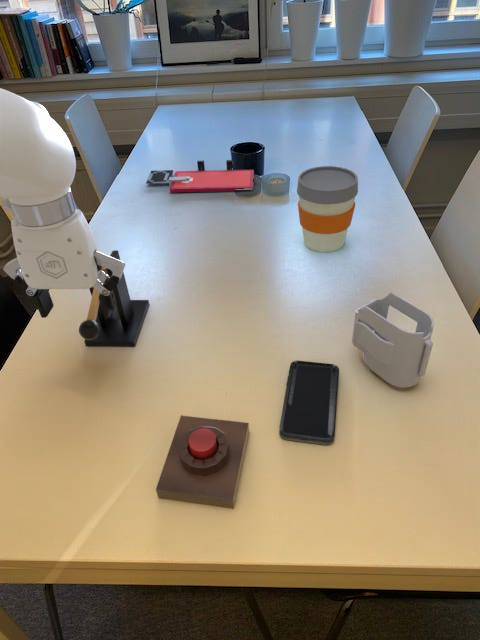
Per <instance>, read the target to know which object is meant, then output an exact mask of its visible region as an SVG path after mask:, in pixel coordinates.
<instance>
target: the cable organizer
mask: <svg viewBox="0 0 480 640" xmlns="http://www.w3.org/2000/svg"><path fill="white" fill-rule="evenodd" d="M389 307H392V308H394V309H395V310H396V311H398V312H399V313H401V314H403V315H405V316H406V317H408V318H410V319H411V320H413V321H415V322H416V328H415V332H413V331H408V330H406V329H403V328H401V327H400V326H398V325H397V324H395V323H393V322H391V321H390V320H389V319H388V314H389ZM434 327H435V320H434V318H433V317H432V315H431V314H430V313H429V312H426V311H425V310H424V309H422V308H420V307H418V306H416V305H415V304H413V303H412V302H409V301H408V300H407V299H405V298H403V297H401V296H399V295H398V294H397V293H395V292H393V291H391V292H390V293H388V294H387V295H386V296H384V297H383V298H374V299H372V300H371V301H369V302H367V303H365V304H364V305H362V306H359V307H358V308H356V309H355V312H354V320H353V328H352V337H351V343H352V345H353V346H354V348H356V349H358V350H359V351H360V352H362V353H363V354H362V360H363V362H364V364H365V365H366V366H367V368H368V369H369V370H371V372H373V373H374V374H376V375H377V376H378V377H379V378H381V379H382V380H384V381H385V382H386V383H388V384H389V385H390V386H393V387H396V388H410V387H413V386H415V385H417V384H418V383H419V382H420V380H421V378H422V377H423V376H425V375H426V372H427V368H428V365H429V360H430V357H431V354H432V353H431V352H432V350H433V346H434V344H433V343H434V342H433V341H432V339H431V338H432V334H433V331H434Z"/></svg>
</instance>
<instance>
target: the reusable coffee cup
mask: <svg viewBox="0 0 480 640" xmlns="http://www.w3.org/2000/svg"><path fill="white" fill-rule="evenodd" d="M358 178H359V177H358V175H357V174H356V173H355V172H354V171H353V170H352V169H351V170H350V169H348V168H347V167H346V168H345V167H341V166H335V165H323V166H314V167H312V168H311V167H310V168H307V169H305V170H304V171H302V172H301V173H300V174H299V175H298V179H297V186H296V192H297V195H298V201H297V209H298V219H299V224H300V226H301V229H302V238H303V245H305V247H306V248H307V249H310V250H311V251H314V252H317V253H331V252H332V253H333V252H336V251H338V250H340V249H342V248H343V246H344V245H345V241H346V238H347V234H348V229H349V227H350V226H351V224H352V220H353V217H354V212H355V209H356V201H355V199H356V196H358V193H359V179H358Z"/></svg>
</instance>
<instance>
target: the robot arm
mask: <svg viewBox="0 0 480 640" xmlns="http://www.w3.org/2000/svg"><path fill="white" fill-rule="evenodd" d="M76 170H77V161H76V155H75V152H74V148H73V145H72V143H71V141H70V139H69V137H68V135H67V134H66V132H65V131H64V130H63V129H62V127H61V126H60V125H59V124H58V123H57V121H55V119H53V118H52V117H51V116H50V113H49V112H48V110H47V108H46V107H45V106H43V105H42V104H40V103H39V102H36V101H31V100H29V99H27V98H25V97H23V96H22V95H21V96H20V95H19V94H16V93H14V92H11V91H9V90H7V89H4V88H1V87H0V199H2V200H1V205H2V208H3V210H10V211H11V212H12V215H13V217H14V218H13V219H12V220H11V222H10V226H11V234H12V240H13V241H12V242H13V246H14V250H15V254H16V257H14V258H13V259H12V260H10V261H8V262H7V263H6V264H5V265H4V266H3V271H4V272H5V273H6V274H7V275H8V276H9V277H10V279H13V283H15V284H16V285H17V286H19V287H20V288H22V289H23V290H25V293H26V294H27V296H29V297H32V300H33V303H34V305H35V307H36V309H37V310H38V312H39V315H40V317H41V318H43V319H44V318H47V317H48V316H49V315H50V313H51V311H52V309H53V308H54V302H53V299H52V296H51V293H50V290H86V289H87V290H88V289H89V288H91V287H93V288H95V289H96V290H97V291H99V292H100V295H99V300H100V304H101V307H102V311H103V314H104V317H105V318H110V316H111V314H112V312H113V310H115V308H116V299H115V295H114V292H113V289H114V288H115V286H116V285H117V284H118V283H119V281H120V279H121V276H122V273H123V272H124V270H125V268H126V263H125V261H122V260H121V259H120V260H121V261H120V260H117V259H115V258H112V257H110V255H108V254H105V253H103V252H100V249H99V247H98V244H97V241H96V239H95V236H94V234H93V232H92V229H91V227H90V224H89V223H88V221H87V219H86V217H85V215H84V213H83V212H82V210H81V209H79V208H77V207H76V203H75V199H74V197H73V192H72V189H71V185H72V184H73V182H74V180H75V177H76V176H75V175H76ZM103 267H105V268H107V269H110V270H111V271H112V275H111V276H110V277H109V276H108V275H107V274H106V273H104V272H103V271H102V270H103ZM97 278H98V279H99V280H100V281H102V282H103V283H104V284H103V283H102V282H100V281H99V280H98V279H97Z"/></svg>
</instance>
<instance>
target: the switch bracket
mask: <svg viewBox="0 0 480 640" xmlns="http://www.w3.org/2000/svg"><path fill="white" fill-rule="evenodd" d="M109 256H110V257H112V258H115V259H117V260H120V261H122V260H121V257H120V253H119V250H112V251H111V253H110V255H109ZM106 269H107V268H106ZM107 272H108V276H109V277H110V276H111V275H112V271H111V270H110V269H107ZM126 280H127V279H126V277H125V272H124V271H123V273H122V276H121V279H120V281H119V283H118V284H117V285H116V286H115V288H114V289H113V292H114V295H115V299H116V308H115V310H113V312H112V314H111V316H110V318H105V317H104V314H103V311H102V307H101V304H100V303H99V308H98V313H97V318H96V322H97V323H98V325H99V327H100V333H99V335H98V336H97V337H96V338H95V339H92V340H86V339H84V340H83V342H84V344H85V347H115V348H116V347H122V348H124V347H128V348H129V347H130V348H135V347H136V346H137V343H138V340H139V336H140V334H141V331H142V327H143V324H144V322H145V319H146V316H147V313H148V311H149V308H150V301H149V299H131V296H130V293H129V288H128V284H127V281H126ZM88 289H89V292H90V293H89V294H91V297H92V294H93V289H94V288H93V287H91V288H88Z"/></svg>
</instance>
